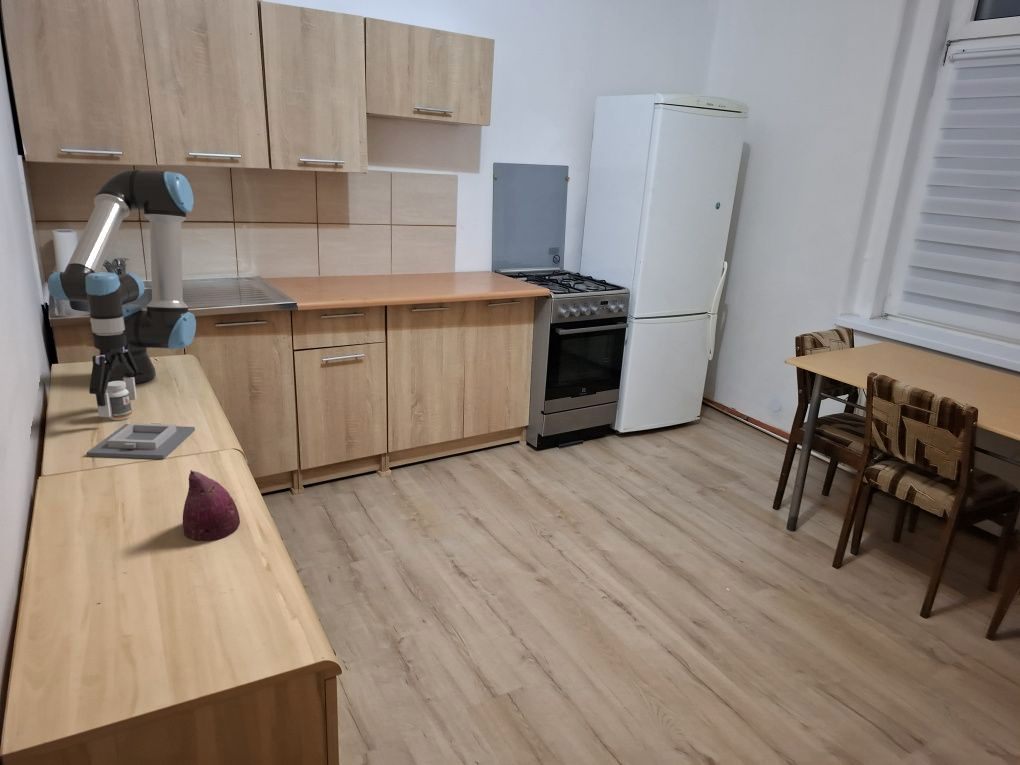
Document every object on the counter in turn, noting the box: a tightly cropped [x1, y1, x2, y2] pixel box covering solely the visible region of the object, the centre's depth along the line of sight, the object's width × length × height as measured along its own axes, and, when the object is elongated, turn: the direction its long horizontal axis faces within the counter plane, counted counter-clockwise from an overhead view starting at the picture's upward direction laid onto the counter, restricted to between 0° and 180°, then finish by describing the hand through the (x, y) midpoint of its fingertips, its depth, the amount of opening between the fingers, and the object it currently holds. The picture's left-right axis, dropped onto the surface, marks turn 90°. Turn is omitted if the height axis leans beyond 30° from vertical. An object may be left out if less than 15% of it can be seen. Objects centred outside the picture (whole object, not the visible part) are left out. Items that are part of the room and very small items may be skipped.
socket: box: [86, 422, 196, 460], centre depth 167 cm, size 18×18×3 cm
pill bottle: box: [106, 381, 133, 421], centre depth 181 cm, size 6×6×10 cm
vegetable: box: [182, 469, 241, 542], centre depth 129 cm, size 10×10×15 cm
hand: (118, 407), depth 181 cm, fingers open, 13 cm apart
